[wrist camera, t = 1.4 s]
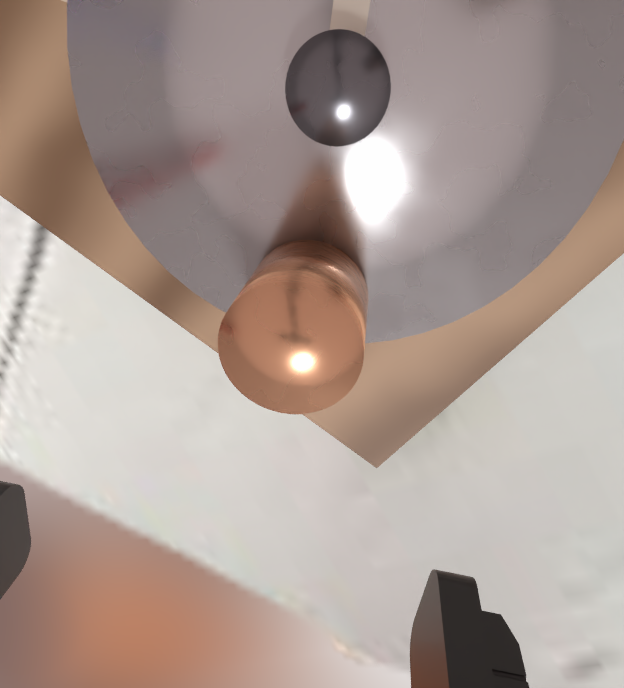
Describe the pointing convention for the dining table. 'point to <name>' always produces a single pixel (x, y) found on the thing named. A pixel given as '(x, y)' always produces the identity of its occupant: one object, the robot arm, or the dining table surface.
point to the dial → (346, 160)
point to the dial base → (205, 319)
